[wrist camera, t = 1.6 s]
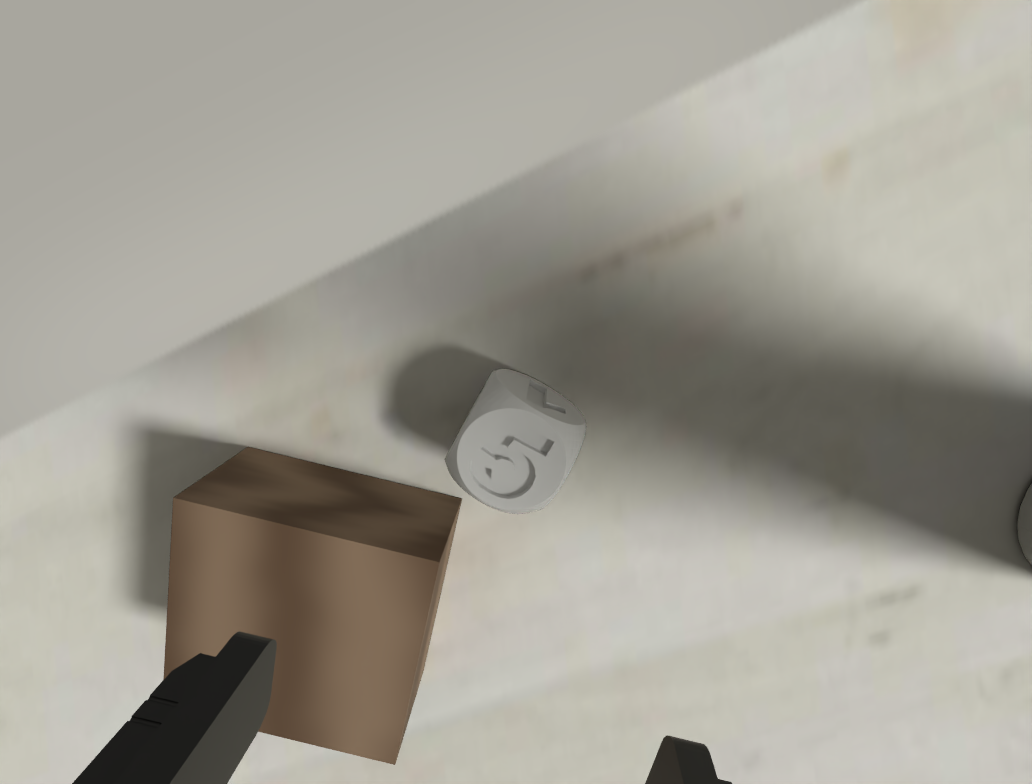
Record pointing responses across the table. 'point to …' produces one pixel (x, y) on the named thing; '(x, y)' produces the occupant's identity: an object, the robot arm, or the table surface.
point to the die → (516, 443)
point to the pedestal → (313, 591)
